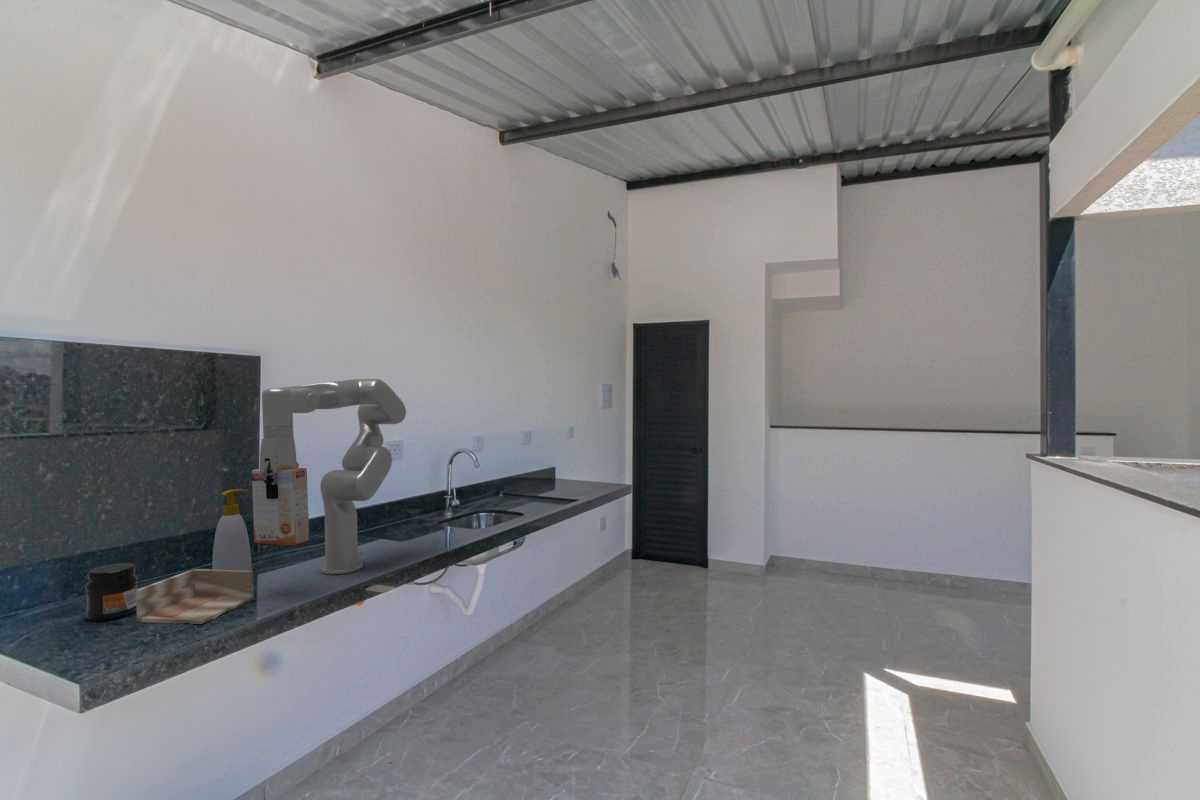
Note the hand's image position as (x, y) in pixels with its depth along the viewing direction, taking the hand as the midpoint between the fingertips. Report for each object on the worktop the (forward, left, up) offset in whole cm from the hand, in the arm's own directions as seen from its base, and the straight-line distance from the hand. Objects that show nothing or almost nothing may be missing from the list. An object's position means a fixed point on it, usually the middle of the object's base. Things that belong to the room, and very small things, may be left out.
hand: (280, 495), depth 174 cm
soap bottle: (-16, -28, -28) cm, 42 cm away
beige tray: (+15, -13, -28) cm, 34 cm away
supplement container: (+20, -33, -28) cm, 48 cm away
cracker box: (0, 0, -13) cm, 13 cm away
